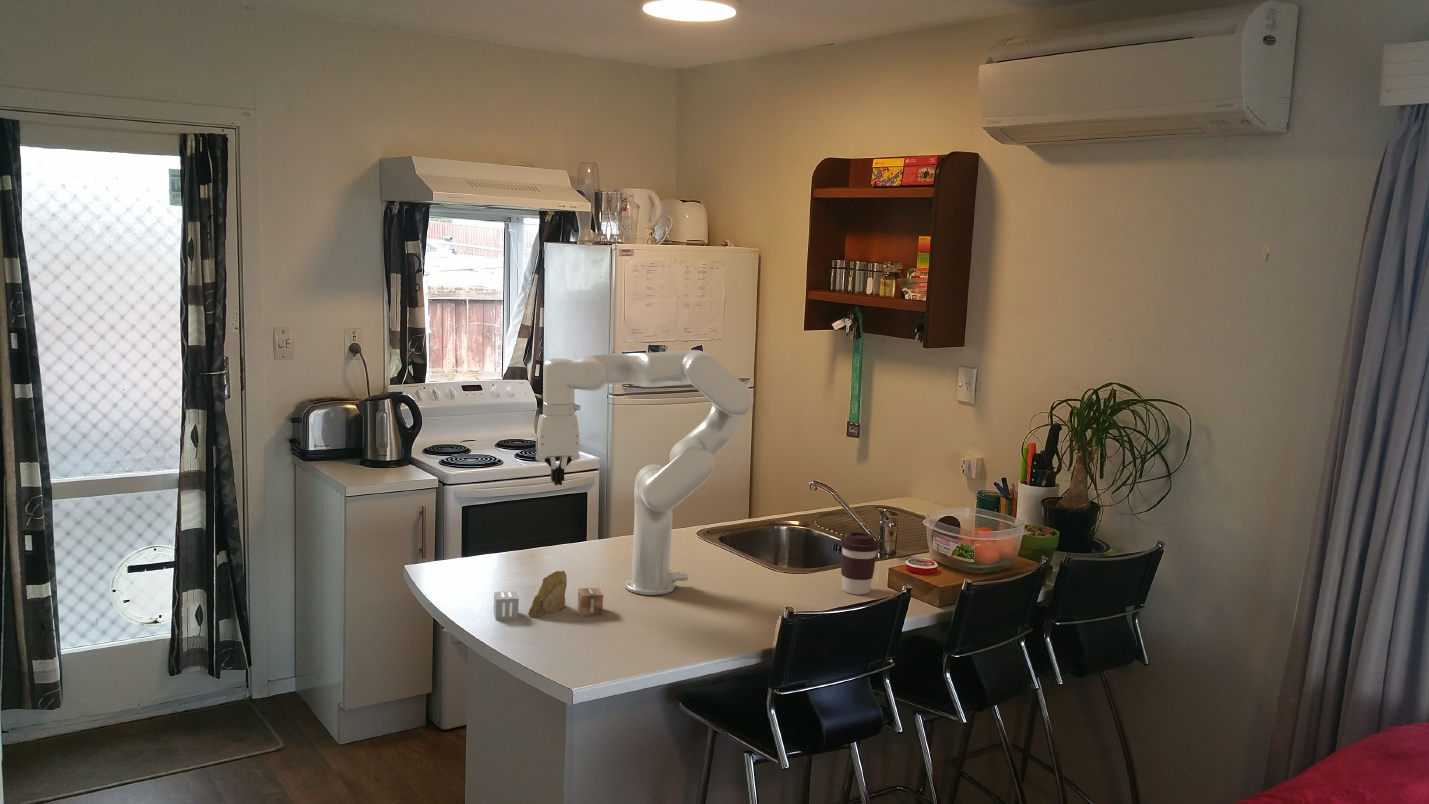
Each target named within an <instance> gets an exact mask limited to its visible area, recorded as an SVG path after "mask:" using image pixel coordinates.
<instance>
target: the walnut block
mask: <svg viewBox="0 0 1429 804" xmlns="http://www.w3.org/2000/svg"><path fill="white" fill-rule="evenodd" d="M603 607H604V593H603V591H602V590H601V588H600V587H591V588H590V587H587V588H582V587H581V588H578V591H577V610H578V612H579V614H580V616H581V617H587V616H590V617H591V616H603V609H604V608H603Z"/></svg>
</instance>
